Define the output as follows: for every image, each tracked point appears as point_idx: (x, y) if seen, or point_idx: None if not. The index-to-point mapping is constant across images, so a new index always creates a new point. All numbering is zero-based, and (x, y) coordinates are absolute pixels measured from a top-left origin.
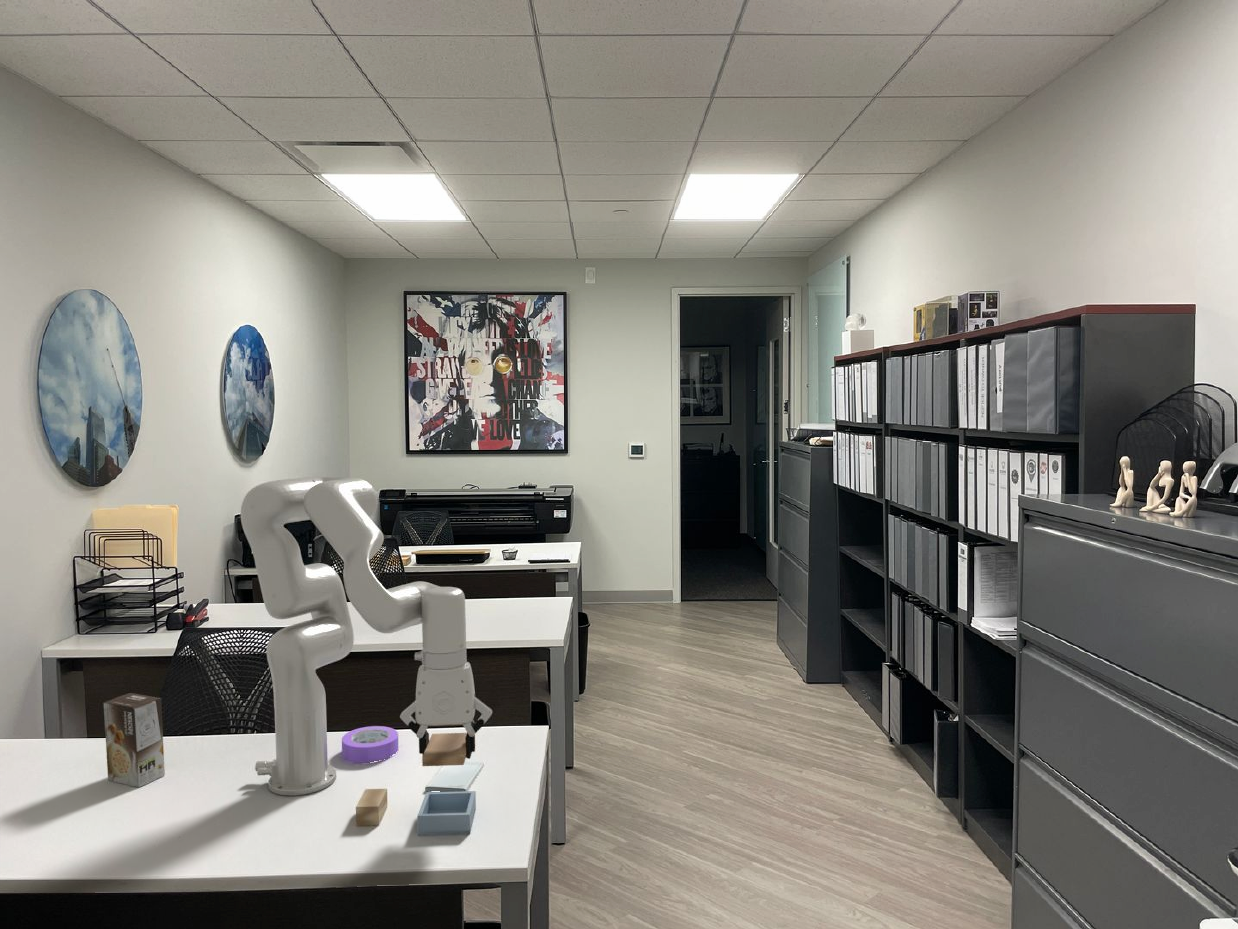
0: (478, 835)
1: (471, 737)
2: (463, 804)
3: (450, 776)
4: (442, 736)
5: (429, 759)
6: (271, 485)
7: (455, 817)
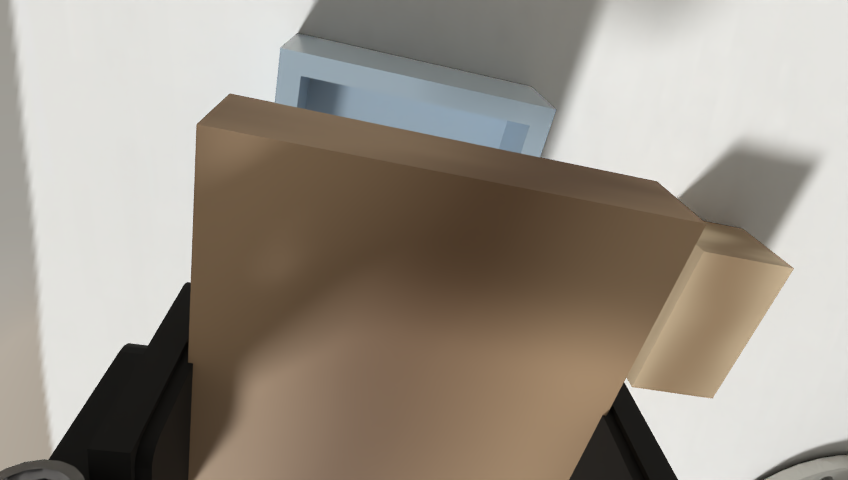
0: (256, 9)
1: (80, 466)
2: None
3: None
4: None
5: (617, 194)
6: None
7: (360, 64)
